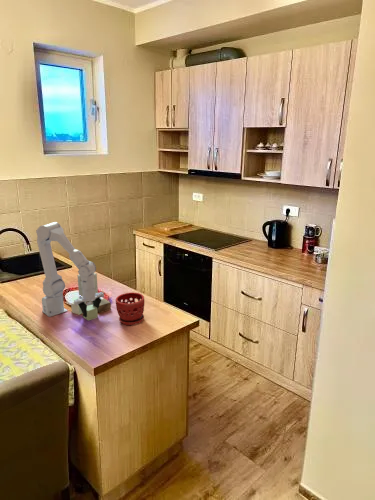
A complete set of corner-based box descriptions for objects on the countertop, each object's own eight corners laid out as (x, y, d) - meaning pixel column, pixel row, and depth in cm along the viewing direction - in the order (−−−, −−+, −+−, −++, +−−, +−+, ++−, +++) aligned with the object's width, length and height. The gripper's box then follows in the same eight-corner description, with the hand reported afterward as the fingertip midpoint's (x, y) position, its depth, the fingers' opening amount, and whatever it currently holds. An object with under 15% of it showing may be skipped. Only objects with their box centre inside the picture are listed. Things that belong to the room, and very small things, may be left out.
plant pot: (131, 312, 179) (131, 289, 176) (150, 320, 171) (150, 296, 168) (110, 321, 169) (109, 297, 166) (129, 330, 161) (128, 306, 158)
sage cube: (88, 320, 170) (87, 311, 168) (83, 317, 173) (82, 307, 172) (97, 317, 173) (97, 307, 172) (92, 313, 176) (91, 304, 175)
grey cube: (79, 315, 175) (78, 305, 174) (71, 312, 178) (71, 303, 176) (86, 311, 179) (86, 301, 178) (79, 308, 182) (78, 299, 180)
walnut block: (99, 313, 178) (99, 305, 177) (94, 308, 182) (93, 301, 181) (110, 309, 182) (110, 302, 181) (104, 305, 186) (104, 298, 185)
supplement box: (88, 292, 202) (87, 270, 198) (98, 295, 198) (97, 273, 195) (78, 296, 196) (76, 274, 192) (88, 299, 192) (87, 277, 188)
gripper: (78, 294, 161) (80, 322, 165) (106, 286, 171) (108, 312, 175) (70, 290, 166) (73, 317, 170) (98, 282, 176) (100, 307, 180)
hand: (90, 314), depth 173 cm, fingers closed on sage cube, 5 cm apart
